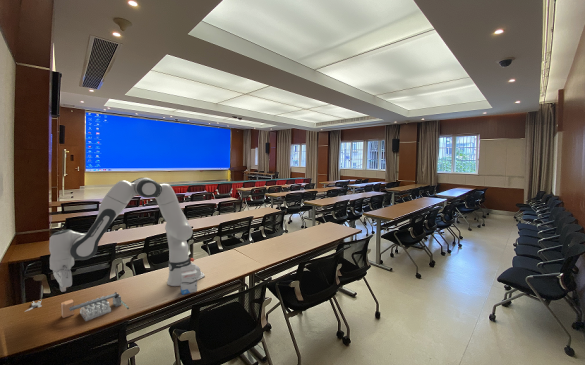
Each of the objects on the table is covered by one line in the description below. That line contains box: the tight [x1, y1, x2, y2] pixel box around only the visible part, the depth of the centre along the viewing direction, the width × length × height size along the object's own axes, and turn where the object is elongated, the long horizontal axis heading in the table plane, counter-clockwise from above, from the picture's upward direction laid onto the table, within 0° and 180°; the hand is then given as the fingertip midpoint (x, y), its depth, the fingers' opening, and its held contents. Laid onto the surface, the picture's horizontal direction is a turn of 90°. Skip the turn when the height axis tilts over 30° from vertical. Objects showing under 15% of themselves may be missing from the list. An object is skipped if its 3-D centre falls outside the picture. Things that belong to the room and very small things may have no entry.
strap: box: [69, 291, 120, 311], centre depth 123 cm, size 19×4×1 cm, turn 142°
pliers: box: [24, 300, 42, 313], centre depth 127 cm, size 10×2×15 cm
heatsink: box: [79, 294, 122, 322], centre depth 125 cm, size 15×10×5 cm, turn 142°
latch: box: [60, 298, 75, 319], centre depth 120 cm, size 4×6×7 cm, turn 52°
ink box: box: [180, 264, 198, 295], centre depth 146 cm, size 8×5×15 cm, turn 123°
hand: (63, 290), depth 124 cm, fingers closed
